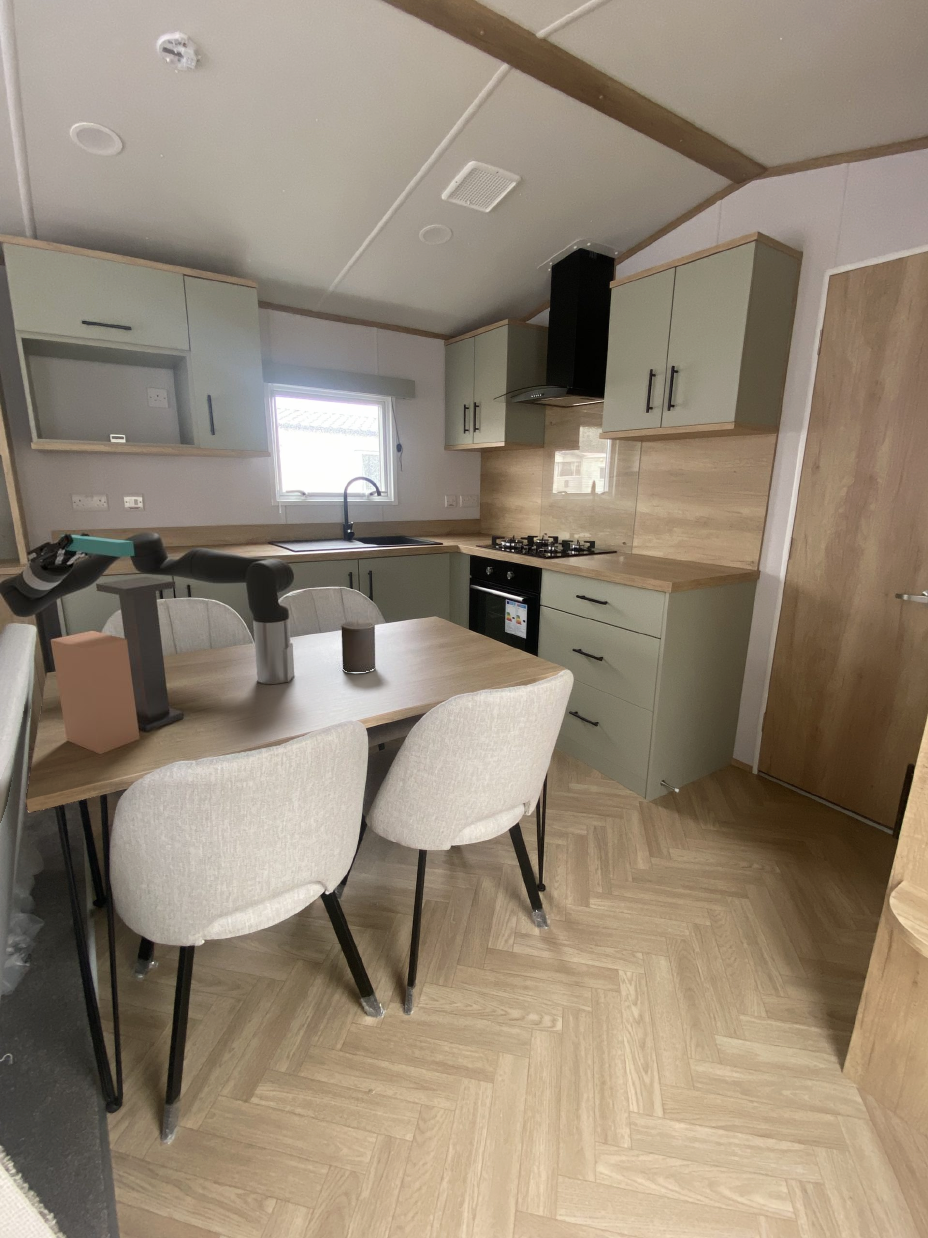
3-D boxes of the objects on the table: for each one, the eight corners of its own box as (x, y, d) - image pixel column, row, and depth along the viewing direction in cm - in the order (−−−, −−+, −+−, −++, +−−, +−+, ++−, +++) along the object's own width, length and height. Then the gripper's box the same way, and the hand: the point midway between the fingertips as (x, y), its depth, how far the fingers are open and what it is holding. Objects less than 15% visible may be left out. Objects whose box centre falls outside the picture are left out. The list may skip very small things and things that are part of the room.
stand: (115, 724, 124) (95, 583, 116) (161, 708, 133) (146, 576, 126) (143, 734, 119) (124, 588, 112) (189, 716, 129) (174, 581, 121)
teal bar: (61, 549, 125) (59, 535, 125) (75, 547, 128) (73, 534, 127) (120, 556, 116) (118, 542, 115) (134, 555, 118) (132, 541, 117)
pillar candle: (335, 671, 161) (334, 621, 158) (354, 662, 170) (353, 614, 166) (364, 676, 158) (363, 625, 154) (382, 666, 167) (381, 618, 163)
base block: (67, 740, 116) (50, 639, 111) (106, 726, 123) (92, 630, 118) (100, 754, 111) (84, 649, 105) (139, 738, 118) (126, 639, 112)
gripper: (85, 579, 138) (117, 549, 130) (20, 587, 126) (50, 554, 118) (73, 552, 139) (104, 520, 130) (6, 557, 126) (36, 522, 118)
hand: (78, 536), depth 124 cm, fingers closed on teal bar, 3 cm apart
